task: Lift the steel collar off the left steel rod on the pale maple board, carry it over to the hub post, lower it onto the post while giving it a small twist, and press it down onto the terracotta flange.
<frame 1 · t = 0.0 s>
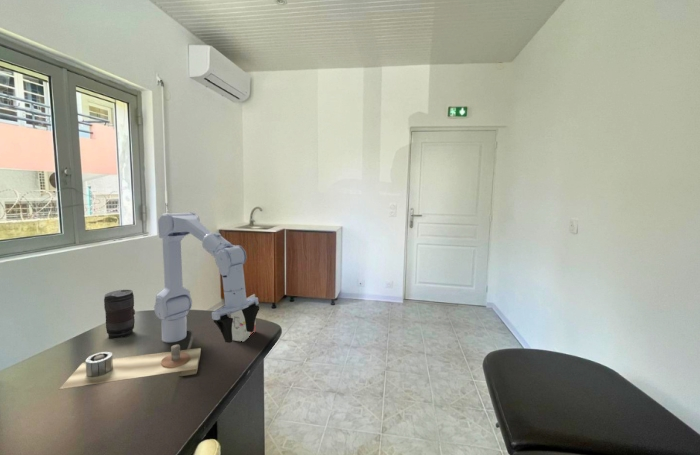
hand: (239, 336, 85), 11 cm above the table, tool pointing down, fingers open, 7 cm apart
camera lens: (120, 335, 104), on the table
stand board: (139, 370, 84), on the table
ink cartridge box: (243, 336, 107), on the table
collar: (99, 371, 81), point 1 cm above the table, touching stand board
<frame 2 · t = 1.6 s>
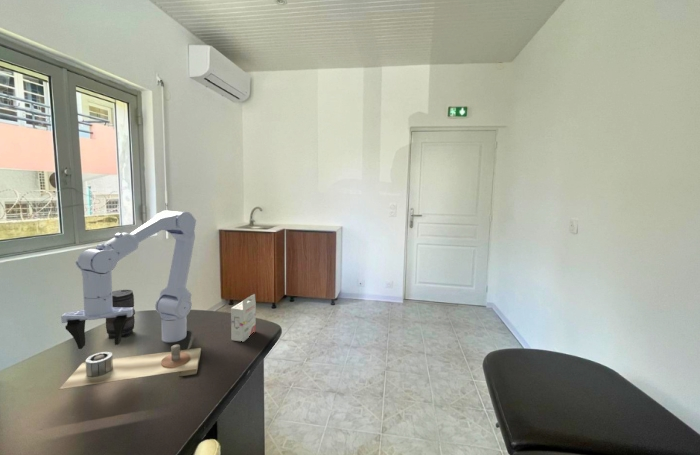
hand: (100, 344, 79), 9 cm above the table, tool pointing down, fingers open, 7 cm apart
nothing on the table moved.
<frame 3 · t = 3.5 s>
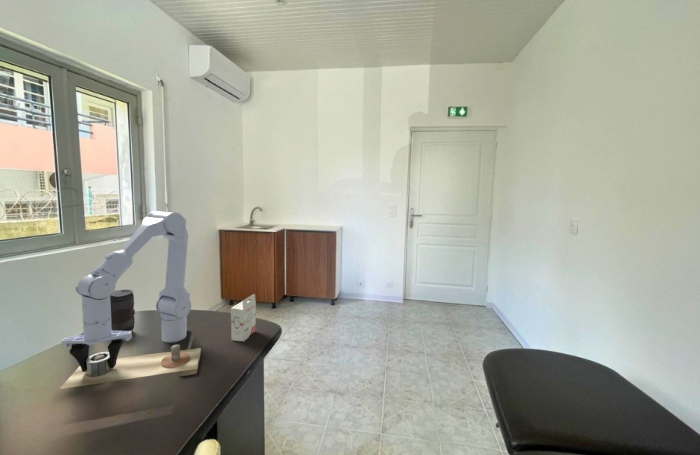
hand: (99, 368, 81), 2 cm above the table, tool pointing down, fingers closed on collar, 5 cm apart
collar: (99, 371, 81), point 2 cm above the table, touching gripper, stand board
everything else where it was.
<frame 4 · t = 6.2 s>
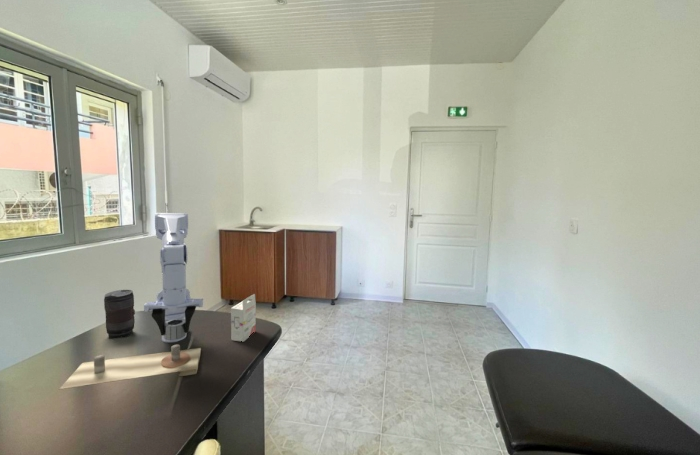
hand: (175, 332, 86), 10 cm above the table, tool pointing down, fingers closed on collar, 5 cm apart
collar: (175, 335, 86), point 9 cm above the table, touching gripper
everything else where it was.
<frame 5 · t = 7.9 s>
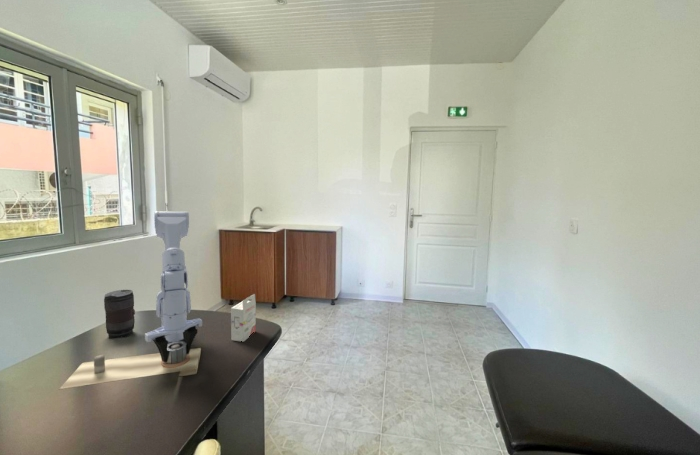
hand: (175, 356, 87), 3 cm above the table, tool pointing down, fingers closed on collar, 5 cm apart
collar: (176, 358, 87), point 2 cm above the table, touching gripper, stand board
everything else where it was.
when the fingers open (3 cm above the table, at t = 9.1 s): collar stays where it is, resting on stand board.
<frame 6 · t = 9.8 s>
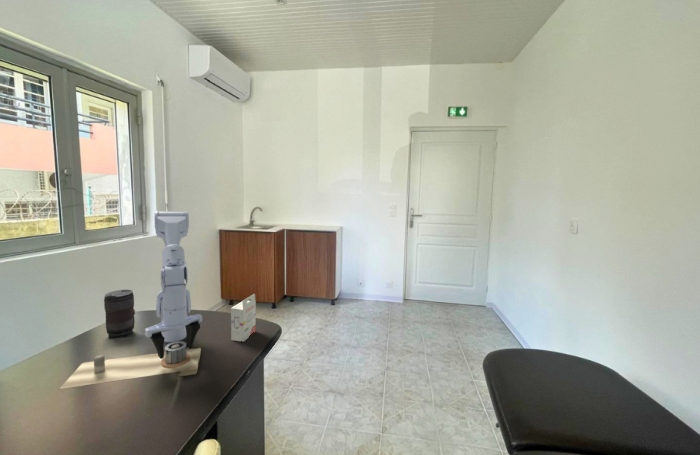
hand: (175, 351, 87), 4 cm above the table, tool pointing down, fingers open, 7 cm apart
collar: (176, 358, 87), point 2 cm above the table, touching stand board
everything else where it was.
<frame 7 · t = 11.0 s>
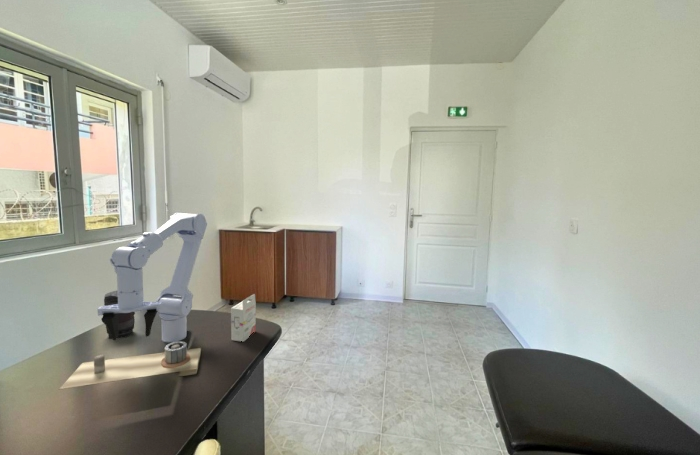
hand: (132, 336, 84), 9 cm above the table, tool pointing down, fingers open, 7 cm apart
nothing on the table moved.
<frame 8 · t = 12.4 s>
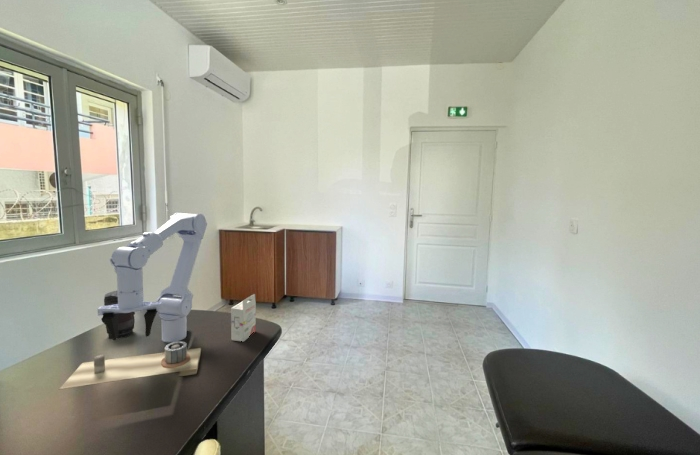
hand: (132, 336, 84), 9 cm above the table, tool pointing down, fingers open, 7 cm apart
nothing on the table moved.
at the end: collar 0.1 cm from the target spot on the stand board, point 2.1 cm above the stand board's base; collar tilted 0°; the gripper is holding nothing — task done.
